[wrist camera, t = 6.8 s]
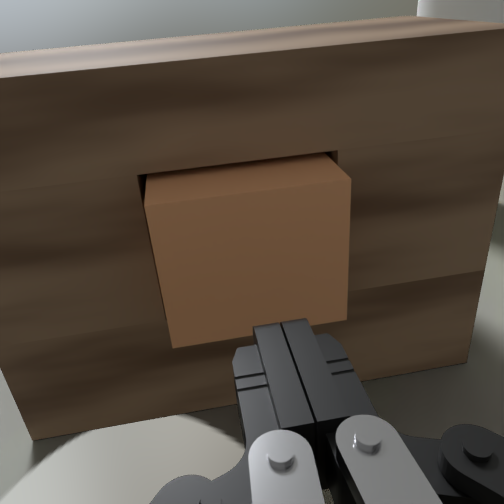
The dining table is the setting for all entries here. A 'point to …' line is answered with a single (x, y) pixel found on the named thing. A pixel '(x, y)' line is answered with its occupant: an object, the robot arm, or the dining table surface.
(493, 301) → the dining table surface
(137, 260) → the wooden box
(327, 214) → the light brown block
